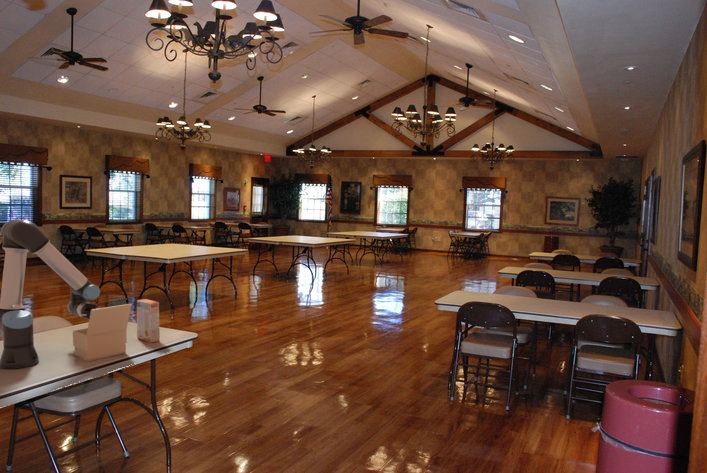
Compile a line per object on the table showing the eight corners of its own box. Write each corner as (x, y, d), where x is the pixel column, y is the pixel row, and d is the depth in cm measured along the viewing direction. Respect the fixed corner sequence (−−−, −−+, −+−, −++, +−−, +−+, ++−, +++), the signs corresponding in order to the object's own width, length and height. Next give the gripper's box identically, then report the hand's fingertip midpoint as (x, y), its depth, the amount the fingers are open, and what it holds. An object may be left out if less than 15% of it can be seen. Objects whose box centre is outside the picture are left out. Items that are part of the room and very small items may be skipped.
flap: (125, 328, 264) (126, 329, 264) (86, 335, 250) (87, 336, 250) (131, 303, 260) (131, 304, 259) (91, 309, 246) (91, 310, 245)
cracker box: (160, 341, 287) (159, 301, 286) (149, 343, 283) (148, 303, 281) (147, 336, 297) (146, 298, 295) (136, 338, 292) (136, 299, 291)
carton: (127, 353, 265) (126, 328, 264) (86, 362, 251) (85, 336, 250) (112, 347, 275) (112, 323, 274) (73, 355, 260) (72, 330, 259)
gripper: (101, 315, 277) (125, 322, 262) (75, 320, 267) (98, 327, 252) (101, 301, 276) (125, 307, 261) (74, 305, 266) (98, 311, 251)
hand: (112, 317), depth 257 cm, fingers closed
